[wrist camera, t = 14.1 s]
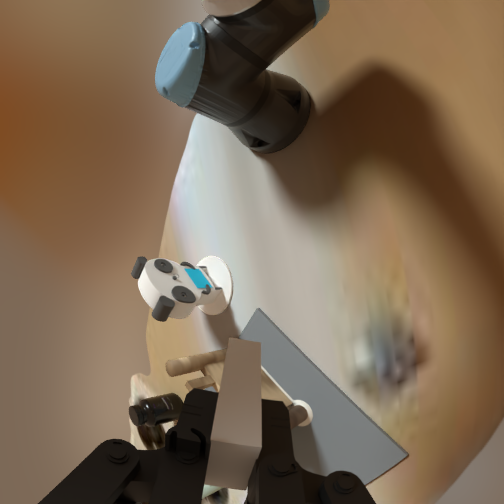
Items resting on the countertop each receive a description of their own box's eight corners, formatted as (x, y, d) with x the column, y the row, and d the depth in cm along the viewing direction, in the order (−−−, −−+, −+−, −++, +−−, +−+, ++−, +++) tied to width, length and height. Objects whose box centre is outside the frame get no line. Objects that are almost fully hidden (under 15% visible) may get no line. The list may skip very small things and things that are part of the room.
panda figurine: (244, 286, 52) (172, 288, 41) (214, 329, 56) (147, 338, 45) (210, 244, 59) (143, 236, 47) (186, 286, 63) (122, 286, 51)
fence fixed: (236, 352, 52) (159, 369, 40) (243, 340, 51) (165, 356, 39) (300, 424, 42) (230, 468, 30) (311, 414, 41) (241, 458, 29)
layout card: (201, 397, 58) (198, 398, 58) (259, 308, 50) (256, 308, 49) (304, 516, 39) (302, 518, 38) (408, 453, 31) (407, 455, 30)
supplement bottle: (185, 398, 62) (140, 409, 53) (185, 422, 61) (142, 435, 52) (167, 388, 66) (125, 397, 57) (169, 411, 66) (127, 422, 57)
